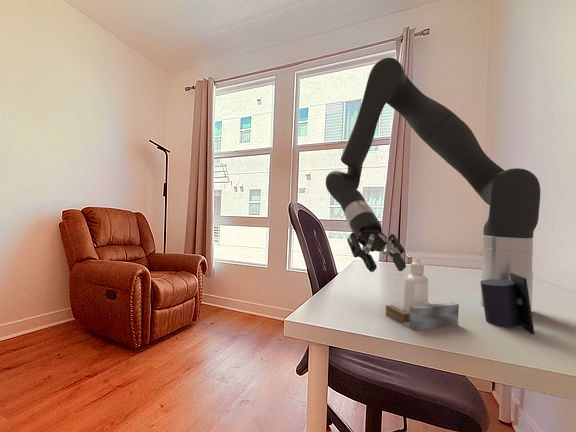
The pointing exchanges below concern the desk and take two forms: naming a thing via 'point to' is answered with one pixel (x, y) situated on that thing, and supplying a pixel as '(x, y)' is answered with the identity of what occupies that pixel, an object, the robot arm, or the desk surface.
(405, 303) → the eye dropper bottle
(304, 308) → the desk surface
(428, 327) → the grey brown angular piece
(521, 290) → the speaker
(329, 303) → the desk surface
